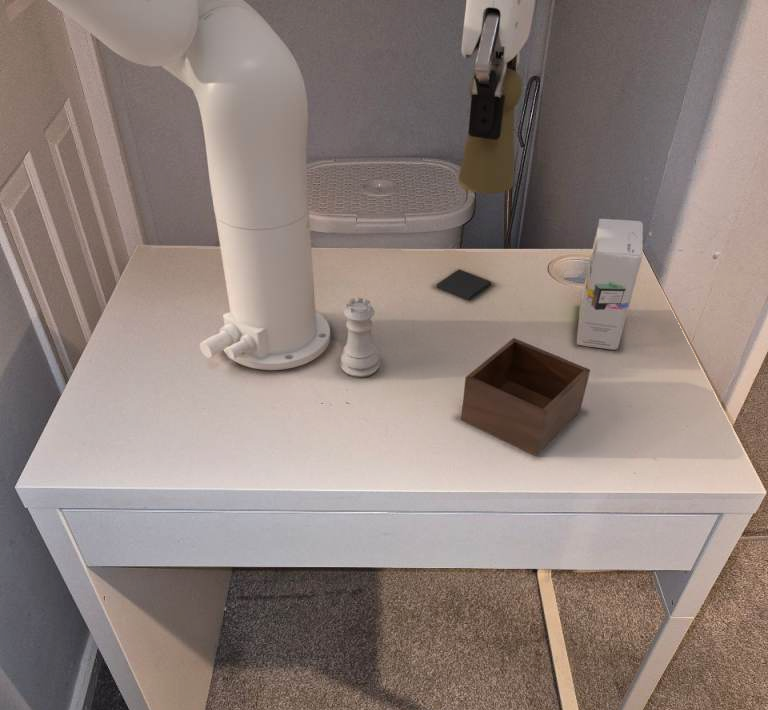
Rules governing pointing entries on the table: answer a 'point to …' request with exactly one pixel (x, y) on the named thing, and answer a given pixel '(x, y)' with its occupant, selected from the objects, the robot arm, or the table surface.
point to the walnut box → (524, 395)
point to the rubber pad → (463, 284)
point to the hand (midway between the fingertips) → (491, 124)
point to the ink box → (610, 282)
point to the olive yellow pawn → (493, 147)
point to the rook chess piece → (359, 340)
